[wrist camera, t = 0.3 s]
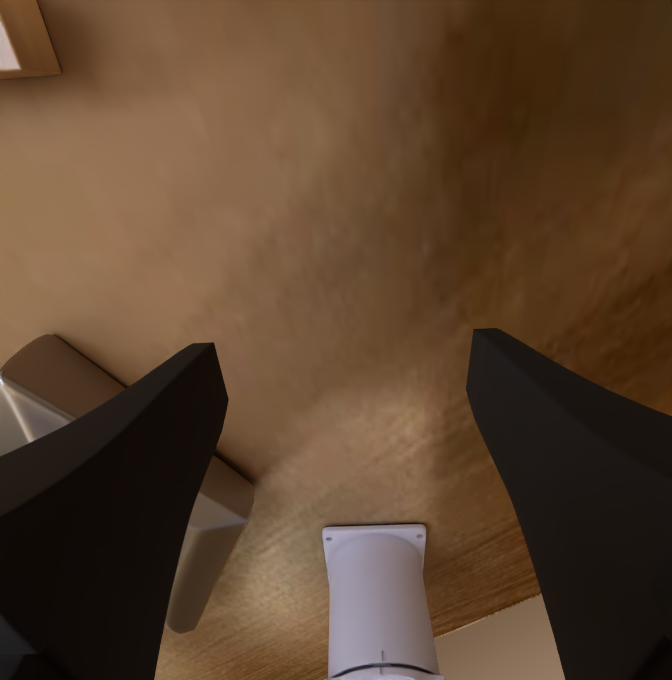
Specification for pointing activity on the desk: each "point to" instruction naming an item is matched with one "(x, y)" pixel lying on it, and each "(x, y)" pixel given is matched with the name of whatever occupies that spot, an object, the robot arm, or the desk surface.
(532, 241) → the desk surface
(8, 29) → the rail
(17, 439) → the emblem
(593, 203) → the desk surface
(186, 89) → the desk surface
